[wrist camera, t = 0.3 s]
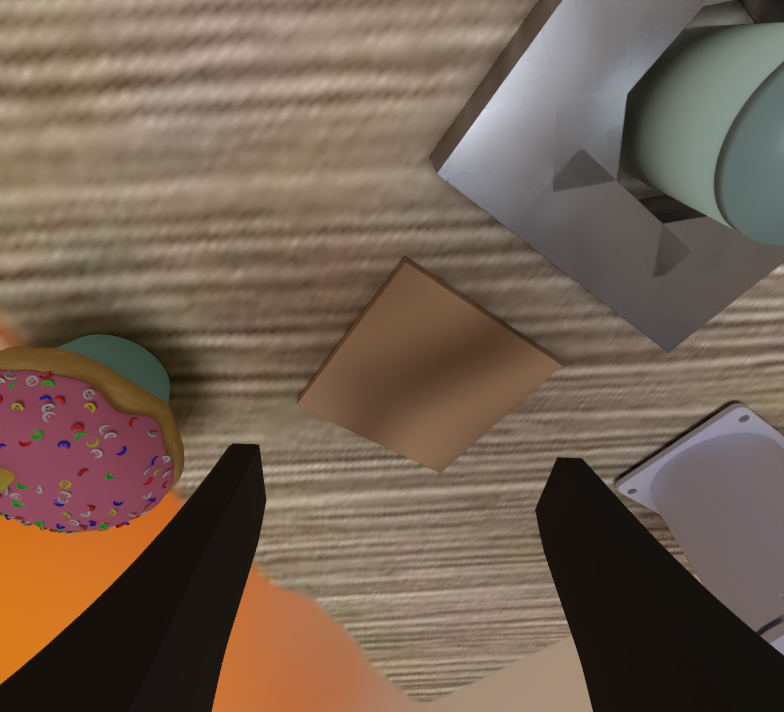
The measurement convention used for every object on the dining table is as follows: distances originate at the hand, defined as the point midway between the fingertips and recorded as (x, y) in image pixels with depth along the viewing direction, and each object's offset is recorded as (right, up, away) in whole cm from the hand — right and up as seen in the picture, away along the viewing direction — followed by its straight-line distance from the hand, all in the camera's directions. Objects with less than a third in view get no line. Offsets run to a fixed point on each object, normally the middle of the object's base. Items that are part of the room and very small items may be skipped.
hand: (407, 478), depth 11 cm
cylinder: (+9, +11, +4) cm, 15 cm away
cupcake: (-13, +2, +10) cm, 17 cm away
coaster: (+1, +2, +11) cm, 11 cm away
